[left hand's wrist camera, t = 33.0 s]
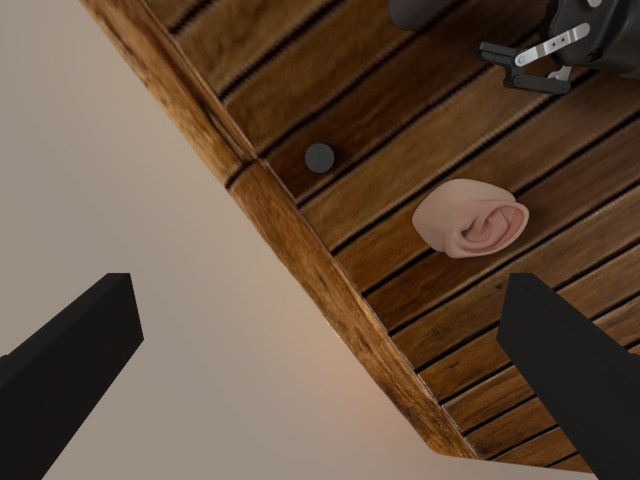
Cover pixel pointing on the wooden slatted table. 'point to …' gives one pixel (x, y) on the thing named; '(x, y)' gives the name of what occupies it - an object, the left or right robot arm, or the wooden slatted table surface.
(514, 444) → the wooden slatted table surface
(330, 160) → the cap
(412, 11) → the bottle
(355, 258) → the wooden slatted table surface
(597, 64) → the right robot arm
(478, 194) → the anatomical model
